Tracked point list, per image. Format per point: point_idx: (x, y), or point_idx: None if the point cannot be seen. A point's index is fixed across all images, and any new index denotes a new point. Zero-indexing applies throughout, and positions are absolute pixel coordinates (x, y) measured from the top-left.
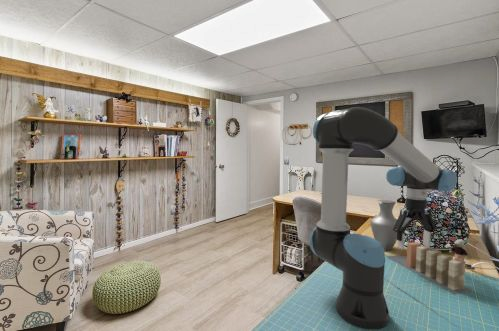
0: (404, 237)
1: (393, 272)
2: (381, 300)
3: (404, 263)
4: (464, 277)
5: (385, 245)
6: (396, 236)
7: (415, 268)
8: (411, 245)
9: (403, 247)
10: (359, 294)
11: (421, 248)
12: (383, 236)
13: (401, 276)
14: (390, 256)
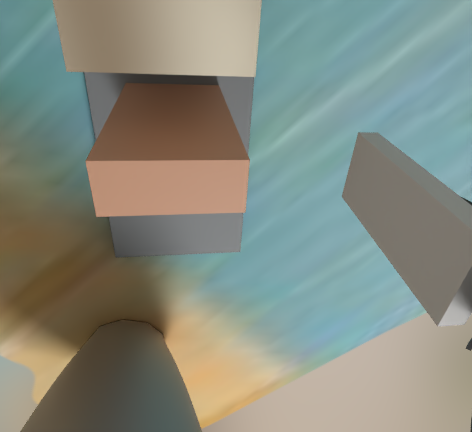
0: (442, 205)
1: (360, 81)
2: None
3: None
4: None
5: (154, 345)
6: (80, 396)
7: None
8: (246, 156)
9: (376, 139)
10: None
11: (239, 4)
12: (177, 400)
13: (367, 13)
14: (207, 248)
